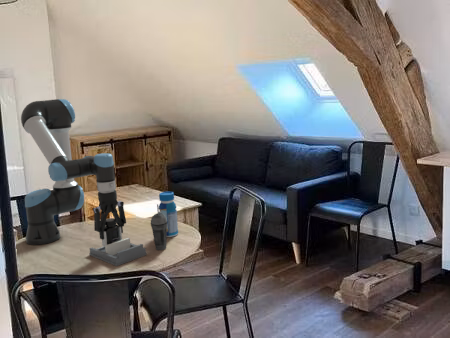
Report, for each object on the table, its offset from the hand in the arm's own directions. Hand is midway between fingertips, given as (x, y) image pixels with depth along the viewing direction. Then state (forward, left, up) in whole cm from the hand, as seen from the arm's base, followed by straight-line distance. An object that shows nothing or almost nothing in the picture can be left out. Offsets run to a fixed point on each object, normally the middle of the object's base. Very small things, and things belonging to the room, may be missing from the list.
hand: (112, 243), depth 206 cm
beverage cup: (+12, +16, -5) cm, 21 cm away
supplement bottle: (0, 0, -2) cm, 2 cm away
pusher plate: (+4, 0, -3) cm, 5 cm away
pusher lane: (+3, 0, -4) cm, 6 cm away
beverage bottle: (+1, +30, -5) cm, 30 cm away
